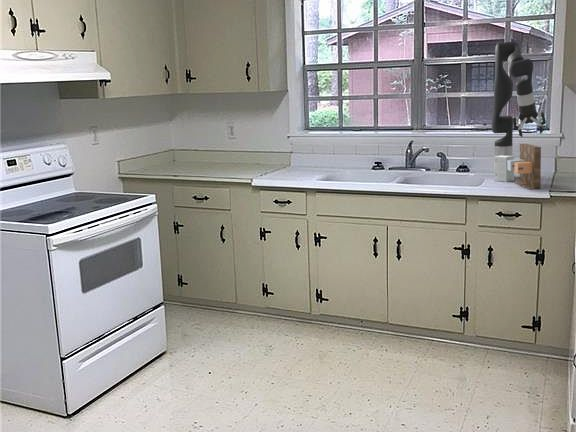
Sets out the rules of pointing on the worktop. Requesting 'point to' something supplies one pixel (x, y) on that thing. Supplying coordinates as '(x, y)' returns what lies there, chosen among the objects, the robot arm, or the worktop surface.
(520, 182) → the walnut board
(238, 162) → the worktop surface
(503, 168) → the small box
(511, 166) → the button one
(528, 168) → the button two
